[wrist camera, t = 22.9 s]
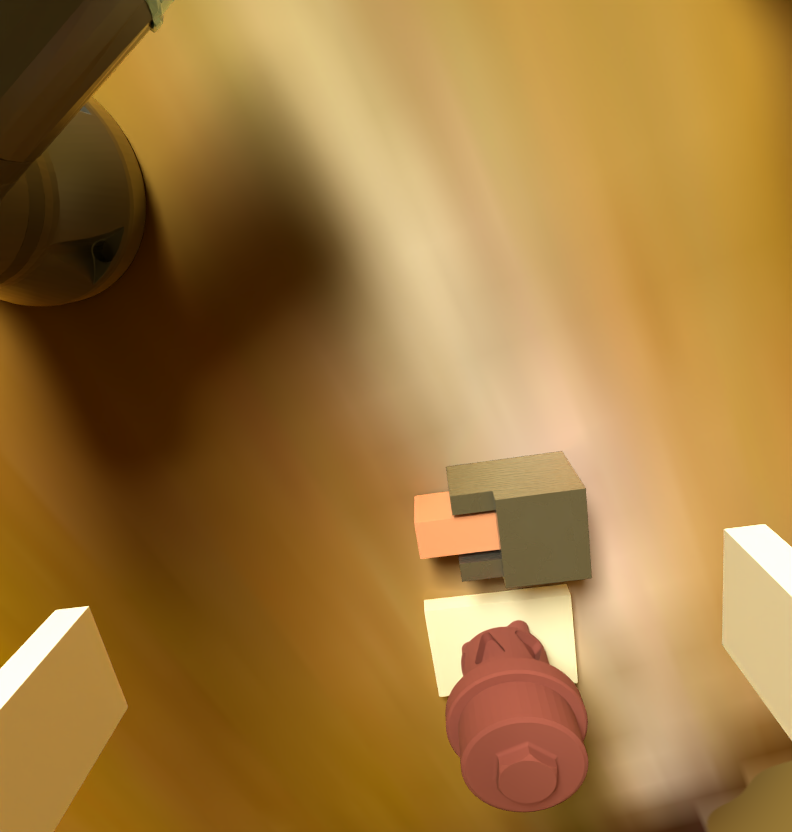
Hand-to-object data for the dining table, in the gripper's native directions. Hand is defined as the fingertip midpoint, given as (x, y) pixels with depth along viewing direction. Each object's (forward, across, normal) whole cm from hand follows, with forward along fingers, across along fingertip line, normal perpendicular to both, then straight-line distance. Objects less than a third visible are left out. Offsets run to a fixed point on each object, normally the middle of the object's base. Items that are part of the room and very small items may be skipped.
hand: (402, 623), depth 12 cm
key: (+31, +2, -14) cm, 34 cm away
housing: (+32, +5, -14) cm, 35 cm away
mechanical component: (+30, +3, -27) cm, 41 cm away
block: (+32, +4, -27) cm, 42 cm away
